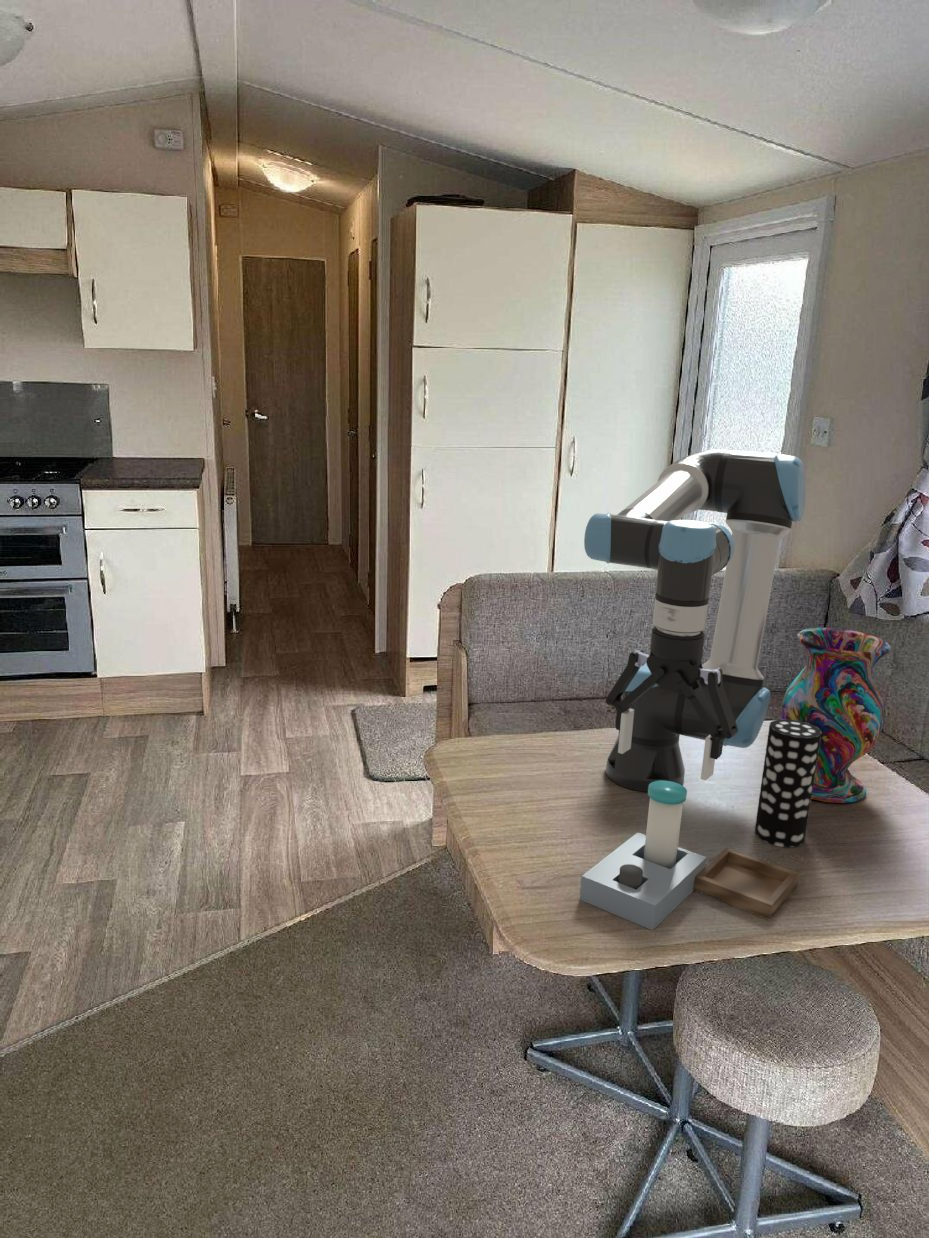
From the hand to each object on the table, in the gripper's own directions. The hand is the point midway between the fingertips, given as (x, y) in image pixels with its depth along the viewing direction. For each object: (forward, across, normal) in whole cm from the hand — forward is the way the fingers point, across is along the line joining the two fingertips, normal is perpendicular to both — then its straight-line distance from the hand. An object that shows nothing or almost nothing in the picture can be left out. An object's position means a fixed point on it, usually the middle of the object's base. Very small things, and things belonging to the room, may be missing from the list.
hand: (664, 763), depth 142 cm
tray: (+20, +12, +8) cm, 25 cm away
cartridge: (+20, 0, +2) cm, 20 cm away
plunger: (+19, 0, -8) cm, 21 cm away
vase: (+21, +9, +55) cm, 59 cm away
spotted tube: (+21, +10, +29) cm, 37 cm away
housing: (+20, 0, -3) cm, 20 cm away
